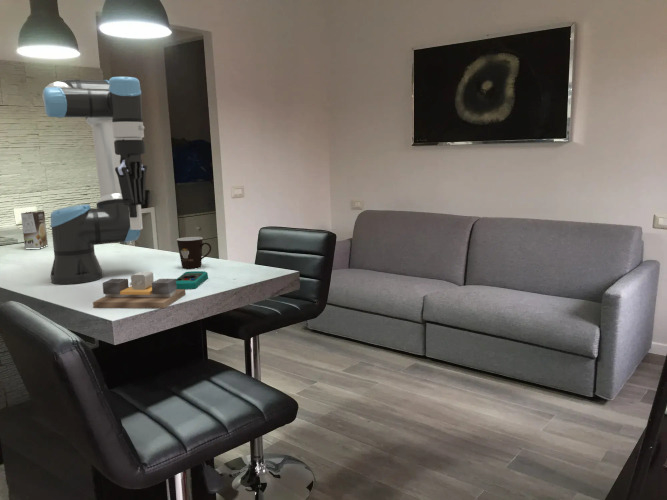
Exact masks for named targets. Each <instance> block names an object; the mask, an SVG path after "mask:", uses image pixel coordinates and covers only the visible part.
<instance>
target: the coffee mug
mask: <svg viewBox="0 0 667 500" xmlns="http://www.w3.org/2000/svg"><path fill="white" fill-rule="evenodd" d="M176 242H177V247H178V253H179V259H180V263H181V268H182V269H183V270H194V269H195V268H197V269H200V268H202V260H203V259H204V258H206V257H207V256H208V255H210V254H211V252H212V245H211V244H210V243H209V242H204V241H203V237H202V236H190V237H189V236H188V237H187V236H185V237H179V238H177V239H176ZM204 245H207V246H208V248H209V249H208V251H207V253H205V255H203V247H204Z"/></svg>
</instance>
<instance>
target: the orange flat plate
mask: <svg viewBox="0 0 667 500" xmlns="http://www.w3.org/2000/svg"><path fill="white" fill-rule="evenodd" d="M150 294H152V286H151V287H149V288H147V289H145V290H134V289H133V288H132V285H131V286H130V285H129V287H128V288H126V289H124V290H122V291H120V295H150Z"/></svg>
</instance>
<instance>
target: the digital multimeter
mask: <svg viewBox="0 0 667 500" xmlns="http://www.w3.org/2000/svg"><path fill="white" fill-rule="evenodd" d="M208 276H209V275H208V272H207V271H203V270H202V271H201V270H196V271H195V270H193V271H185V272H184V273H182V274H181V275H180V276H179V277H177V278H175V279H176V288H177V289H185V290H196V289H197V288H198V287H199V286H200V285H201V284H203V282H205V281H206V280H208V278H209V277H208Z"/></svg>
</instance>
